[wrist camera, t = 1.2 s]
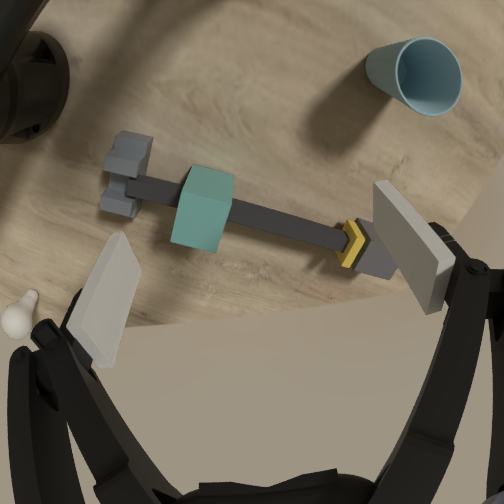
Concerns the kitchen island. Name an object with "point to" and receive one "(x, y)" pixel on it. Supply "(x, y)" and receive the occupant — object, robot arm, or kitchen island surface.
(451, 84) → the cup
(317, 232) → the dark grey long bar
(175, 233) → the sleeve
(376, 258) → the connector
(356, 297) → the kitchen island surface
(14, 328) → the lightbulb
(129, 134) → the grey stepped brick
